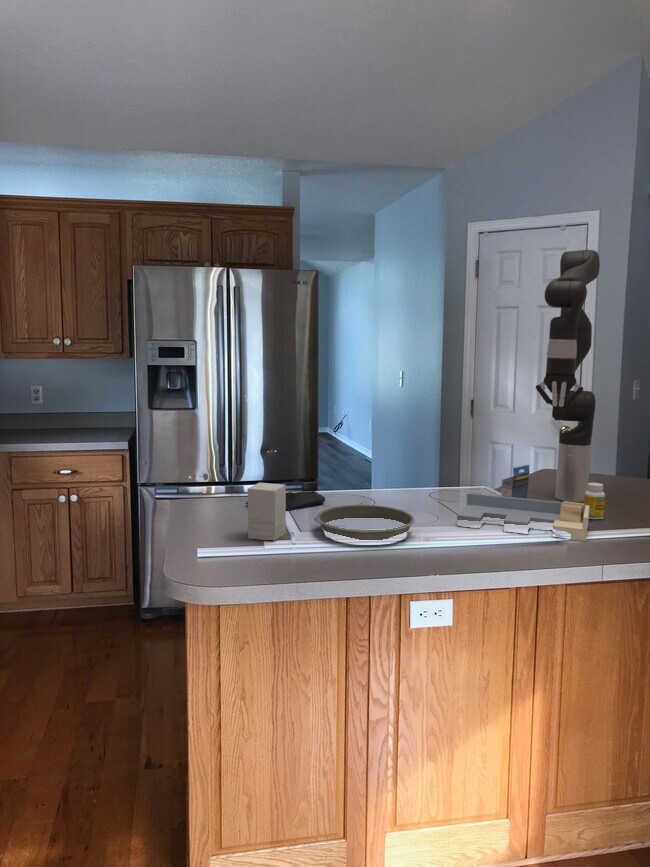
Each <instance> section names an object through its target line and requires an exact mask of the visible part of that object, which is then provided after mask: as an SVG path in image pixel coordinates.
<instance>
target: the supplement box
mask: <svg viewBox="0 0 650 867" xmlns="http://www.w3.org/2000/svg"><path fill="white" fill-rule="evenodd" d="M286 486H287V485H286V484H280V483H267V482H258V483H256V484H253V485H252V486H250V487H248V488H247V501H248V505H247V538H248V539H251V540H252V539H253V540H260V541H267V540H276V539H278V538H279V537H281V536H282V537H283V536H285V535H286V534H285V533H286V532H287V529H286V528H287V527H286V525H287V523H286V516H287V515H286V512H287V511H286V491H287V490H286ZM284 534H285V535H284ZM282 537H281V538H282ZM279 539H280V538H279ZM279 539H278V540H279ZM276 541H277V540H276Z"/></svg>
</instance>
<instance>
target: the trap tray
mask: <svg viewBox="0 0 650 867" xmlns="http://www.w3.org/2000/svg"><path fill="white" fill-rule="evenodd" d="M563 502H564V501H563ZM563 502H561V501H552V500H541V499H533V498H527V499H523V498H513V497H503V496H501V495H493V494H483V493H481V494H480V493H472V492H467V493H466V504H465V505H464V506H463V508H462V509H461V510H460V511H459V512H458V514H457V515H456V516H457V517H456V521H457V520H468V521H479V522H480V521H481V520H482V519H483V517H490V518H500V519H505V520H504V524H515V525H528V524H529V523H530V521H535V522H547V523H548V522H549V523H554V524H553V529H556V530H561V531H565V532H568V533H570V534H571V538H570V539H571V541H577V542H586V541H587V538H588V530H589V520H590V519H589V506H590V505H584V510H583V519H582V521H581V522H580V523H577V522H569V521H562V520H560V509H561V504H562V503H563ZM587 529H588V530H587ZM586 537H587V538H586Z"/></svg>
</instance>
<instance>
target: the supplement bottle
mask: <svg viewBox="0 0 650 867" xmlns="http://www.w3.org/2000/svg"><path fill="white" fill-rule="evenodd" d="M603 490H604V484H603V483H601V482H600V483H599V482H588V490H587V491H586V492H585V495H584V501H583V503H584V505H590V506H589V518H590V519H602V520H603V519H604V517H605V516H604V515H605V503H606V493H605V492H604V491H603ZM590 519H589V520H590Z"/></svg>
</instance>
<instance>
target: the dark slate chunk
mask: <svg viewBox="0 0 650 867" xmlns="http://www.w3.org/2000/svg"><path fill="white" fill-rule="evenodd" d="M325 502H326V497H325V496H323V495H322V494H320V493H319V492H317V491H315V490H309V491H308V490H307V491H297V492H293V491H287V492H286V510H288V509H294V510H296V509H295V508H298V509H301V508H300V507H305V508H307V507H306V506H310V507H313V506H312V505H315V506H317V505H316V504H318V505H320V504H322V503H325ZM244 504H245V505H247V506H248V500H246V502H245V503H244Z"/></svg>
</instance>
